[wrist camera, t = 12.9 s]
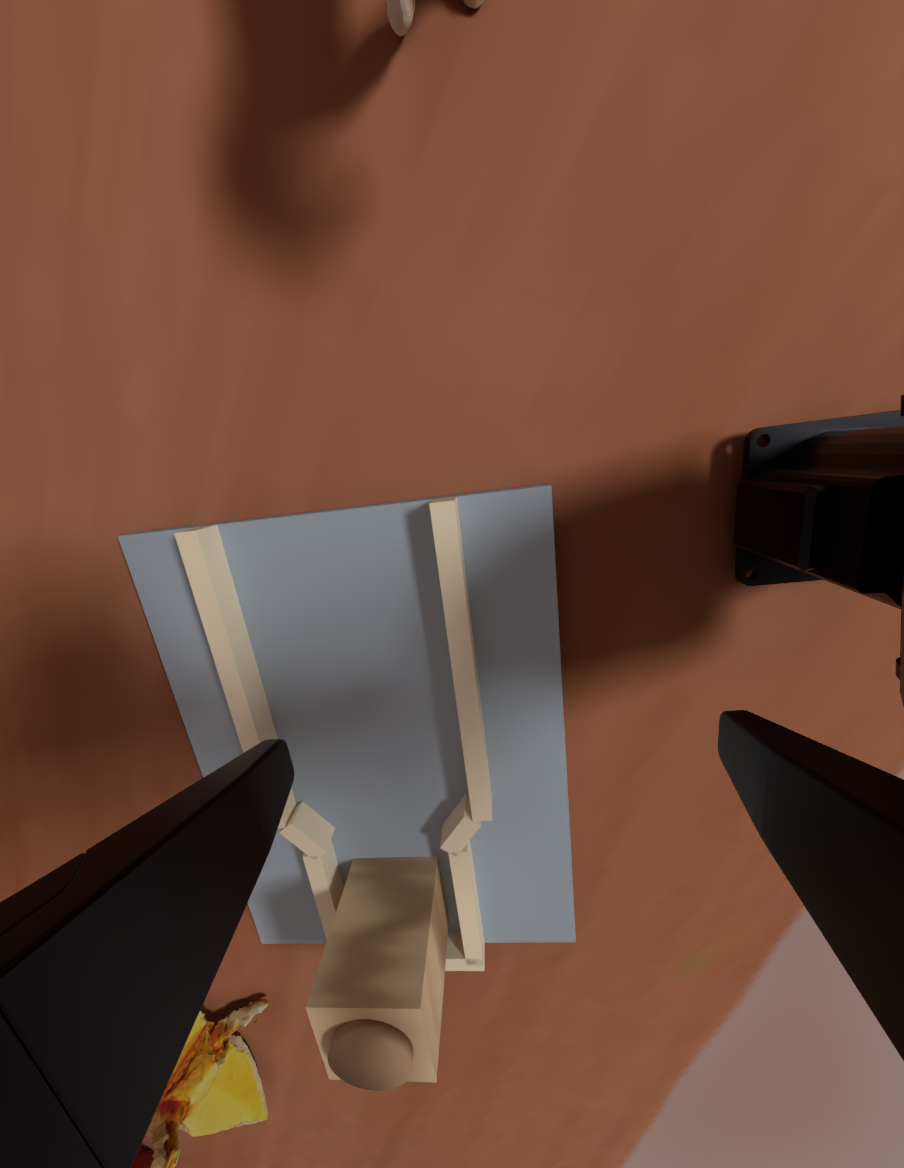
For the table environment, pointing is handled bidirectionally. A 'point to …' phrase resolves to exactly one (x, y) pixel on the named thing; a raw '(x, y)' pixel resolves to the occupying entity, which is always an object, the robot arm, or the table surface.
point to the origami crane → (209, 1085)
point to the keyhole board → (383, 698)
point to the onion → (143, 1159)
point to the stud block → (383, 975)
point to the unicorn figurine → (410, 13)
